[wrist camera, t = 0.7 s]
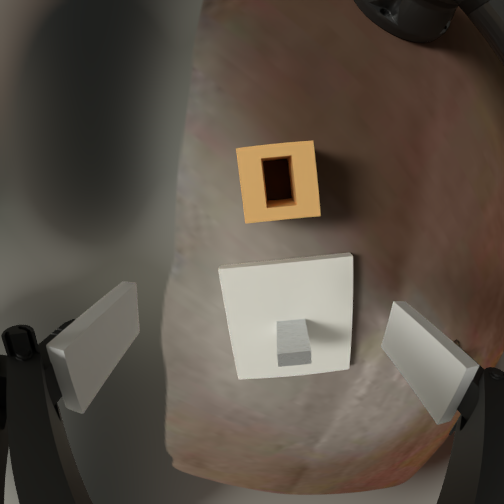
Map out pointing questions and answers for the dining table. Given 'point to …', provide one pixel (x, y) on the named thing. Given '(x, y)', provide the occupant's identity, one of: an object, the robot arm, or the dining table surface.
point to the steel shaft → (293, 343)
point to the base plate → (289, 311)
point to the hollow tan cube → (300, 182)
